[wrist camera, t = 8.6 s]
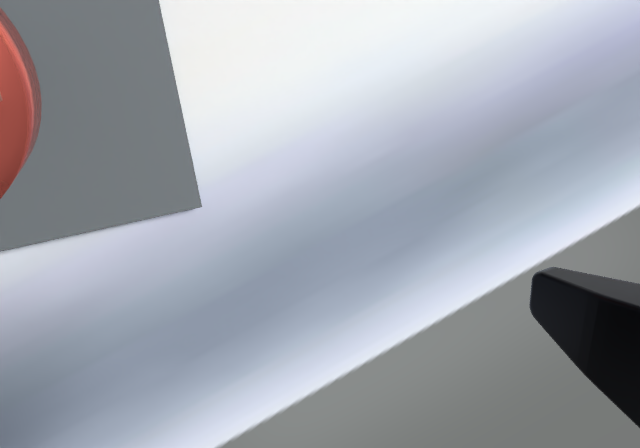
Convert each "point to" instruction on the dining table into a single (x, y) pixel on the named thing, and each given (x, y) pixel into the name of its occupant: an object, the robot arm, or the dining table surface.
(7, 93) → the no entry disc
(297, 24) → the dining table surface
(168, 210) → the mat
